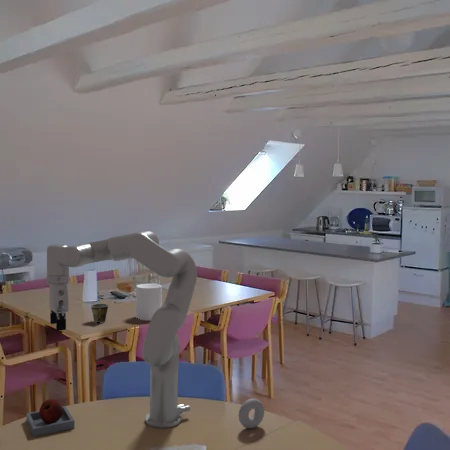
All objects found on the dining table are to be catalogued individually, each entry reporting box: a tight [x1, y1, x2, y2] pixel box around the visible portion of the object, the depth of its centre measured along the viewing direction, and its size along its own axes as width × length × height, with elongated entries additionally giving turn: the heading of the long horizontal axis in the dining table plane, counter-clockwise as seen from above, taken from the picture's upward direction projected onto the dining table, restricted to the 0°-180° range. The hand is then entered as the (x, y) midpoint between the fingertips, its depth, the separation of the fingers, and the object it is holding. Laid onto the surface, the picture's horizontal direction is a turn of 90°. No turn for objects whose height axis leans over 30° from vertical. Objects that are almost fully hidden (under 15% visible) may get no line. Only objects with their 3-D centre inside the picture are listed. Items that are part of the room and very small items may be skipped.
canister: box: [135, 283, 163, 321], centre depth 321 cm, size 16×16×20 cm
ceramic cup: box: [90, 303, 109, 323], centre depth 306 cm, size 13×10×10 cm
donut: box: [238, 397, 266, 429], centre depth 173 cm, size 10×4×10 cm, turn 122°
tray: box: [26, 405, 75, 438], centre depth 173 cm, size 13×13×3 cm
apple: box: [38, 398, 63, 424], centre depth 173 cm, size 7×8×8 cm
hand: (58, 326), depth 183 cm, fingers open, 9 cm apart
